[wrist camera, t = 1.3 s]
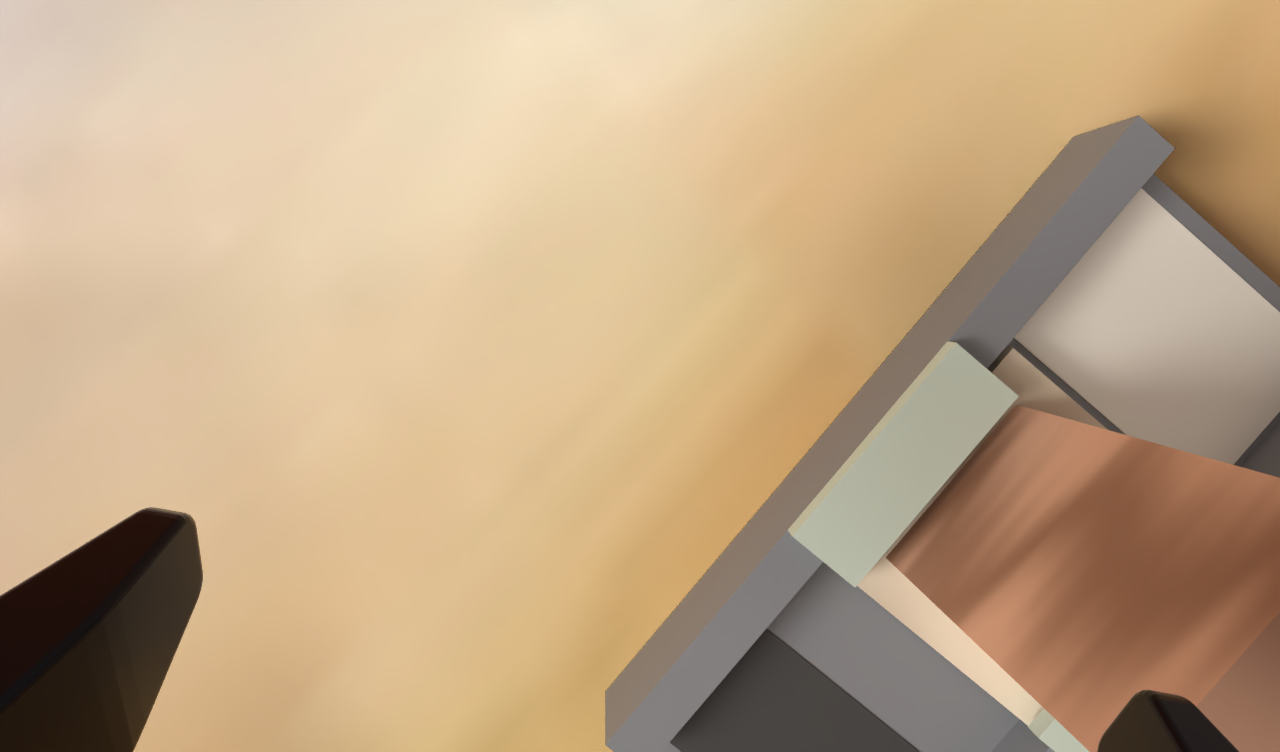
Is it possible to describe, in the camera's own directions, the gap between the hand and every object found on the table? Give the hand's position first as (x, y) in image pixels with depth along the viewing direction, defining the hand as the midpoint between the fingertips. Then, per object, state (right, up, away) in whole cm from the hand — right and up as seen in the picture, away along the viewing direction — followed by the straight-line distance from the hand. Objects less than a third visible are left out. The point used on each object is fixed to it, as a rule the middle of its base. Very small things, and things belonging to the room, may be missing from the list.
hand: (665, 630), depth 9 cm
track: (+9, -2, +18) cm, 20 cm away
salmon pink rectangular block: (+9, -2, +16) cm, 19 cm away
